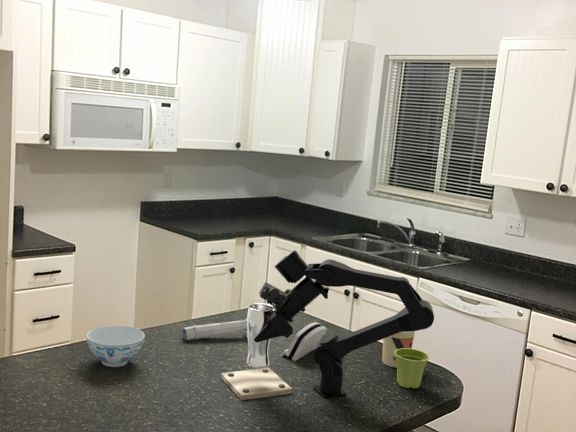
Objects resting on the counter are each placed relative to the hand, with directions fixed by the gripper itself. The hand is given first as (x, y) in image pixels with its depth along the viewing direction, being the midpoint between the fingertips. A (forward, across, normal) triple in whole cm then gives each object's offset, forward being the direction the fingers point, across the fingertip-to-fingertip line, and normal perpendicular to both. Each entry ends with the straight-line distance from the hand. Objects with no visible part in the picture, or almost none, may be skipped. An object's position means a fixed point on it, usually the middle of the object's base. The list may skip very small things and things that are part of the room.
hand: (254, 336), depth 163 cm
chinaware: (+35, -11, -17) cm, 40 cm away
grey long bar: (+15, -34, +4) cm, 38 cm away
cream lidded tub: (-21, -20, +41) cm, 50 cm away
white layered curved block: (-2, -26, +22) cm, 34 cm away
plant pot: (-21, -5, +41) cm, 46 cm away
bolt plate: (+8, 0, +10) cm, 13 cm away
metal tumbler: (+4, 0, +6) cm, 7 cm away
